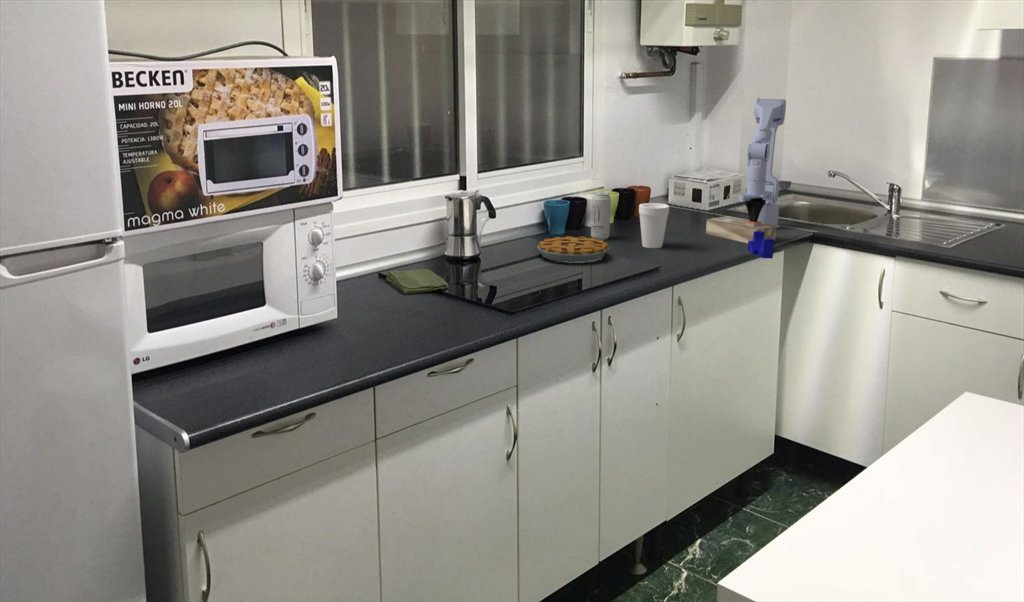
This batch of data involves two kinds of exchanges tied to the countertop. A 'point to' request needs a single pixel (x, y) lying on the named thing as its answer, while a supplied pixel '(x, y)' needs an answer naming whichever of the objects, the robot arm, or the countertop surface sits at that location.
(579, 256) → the pie
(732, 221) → the matte grey cube
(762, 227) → the button block
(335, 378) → the countertop surface
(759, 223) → the orange block
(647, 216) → the foam cup
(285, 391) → the countertop surface
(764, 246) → the blue angular block
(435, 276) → the washcloth
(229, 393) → the countertop surface
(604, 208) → the energy drink can
